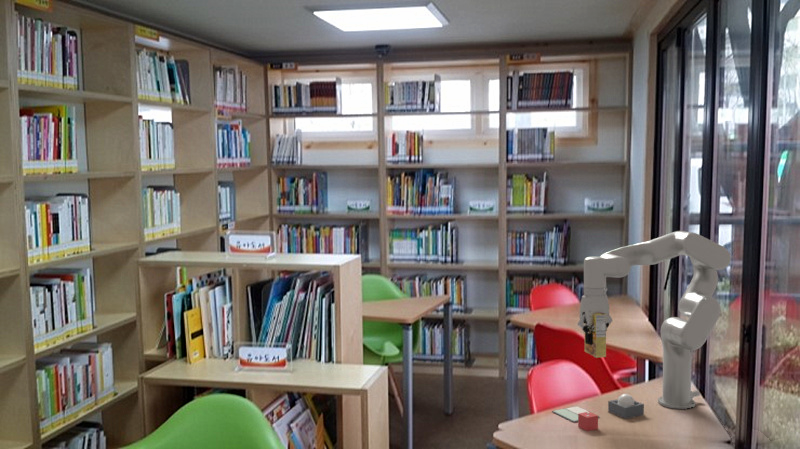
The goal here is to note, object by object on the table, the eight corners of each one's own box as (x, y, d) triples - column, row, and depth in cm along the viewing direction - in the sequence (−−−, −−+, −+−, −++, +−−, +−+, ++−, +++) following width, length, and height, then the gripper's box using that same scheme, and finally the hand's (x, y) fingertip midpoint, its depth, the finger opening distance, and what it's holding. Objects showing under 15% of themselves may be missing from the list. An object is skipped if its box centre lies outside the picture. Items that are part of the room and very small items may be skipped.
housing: (626, 407, 253) (626, 397, 253) (643, 414, 245) (643, 404, 245) (608, 411, 249) (608, 401, 249) (625, 418, 242) (625, 408, 242)
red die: (588, 424, 237) (588, 411, 237) (597, 428, 233) (598, 415, 233) (578, 426, 235) (578, 413, 235) (587, 431, 231) (587, 417, 231)
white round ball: (626, 406, 251) (626, 390, 251) (637, 411, 246) (637, 395, 246) (614, 408, 249) (614, 393, 248) (625, 413, 244) (625, 397, 243)
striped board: (576, 407, 255) (576, 405, 254) (599, 417, 244) (599, 416, 244) (552, 412, 250) (552, 410, 250) (573, 422, 239) (573, 421, 239)
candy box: (584, 352, 253) (583, 309, 252) (594, 350, 254) (594, 308, 253) (596, 358, 244) (595, 314, 243) (607, 357, 245) (606, 313, 244)
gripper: (606, 288, 254) (606, 337, 256) (568, 292, 247) (569, 343, 248) (621, 291, 248) (621, 342, 249) (582, 295, 240) (583, 348, 242)
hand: (595, 342), depth 249 cm, fingers closed on candy box, 5 cm apart
